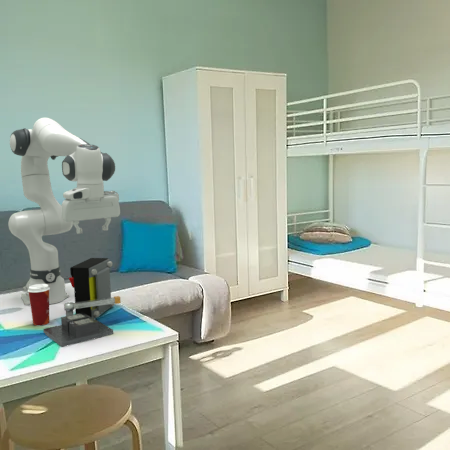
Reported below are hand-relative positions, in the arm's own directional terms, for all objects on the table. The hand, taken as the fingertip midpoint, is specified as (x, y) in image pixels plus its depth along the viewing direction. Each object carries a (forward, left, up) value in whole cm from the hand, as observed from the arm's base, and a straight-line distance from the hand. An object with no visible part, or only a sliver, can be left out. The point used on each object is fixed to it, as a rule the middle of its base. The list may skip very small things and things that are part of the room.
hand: (92, 232), depth 176 cm
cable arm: (-3, 0, -27) cm, 28 cm away
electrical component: (-16, +6, -35) cm, 39 cm away
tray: (+2, -8, -34) cm, 35 cm away
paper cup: (-18, -14, -35) cm, 42 cm away
